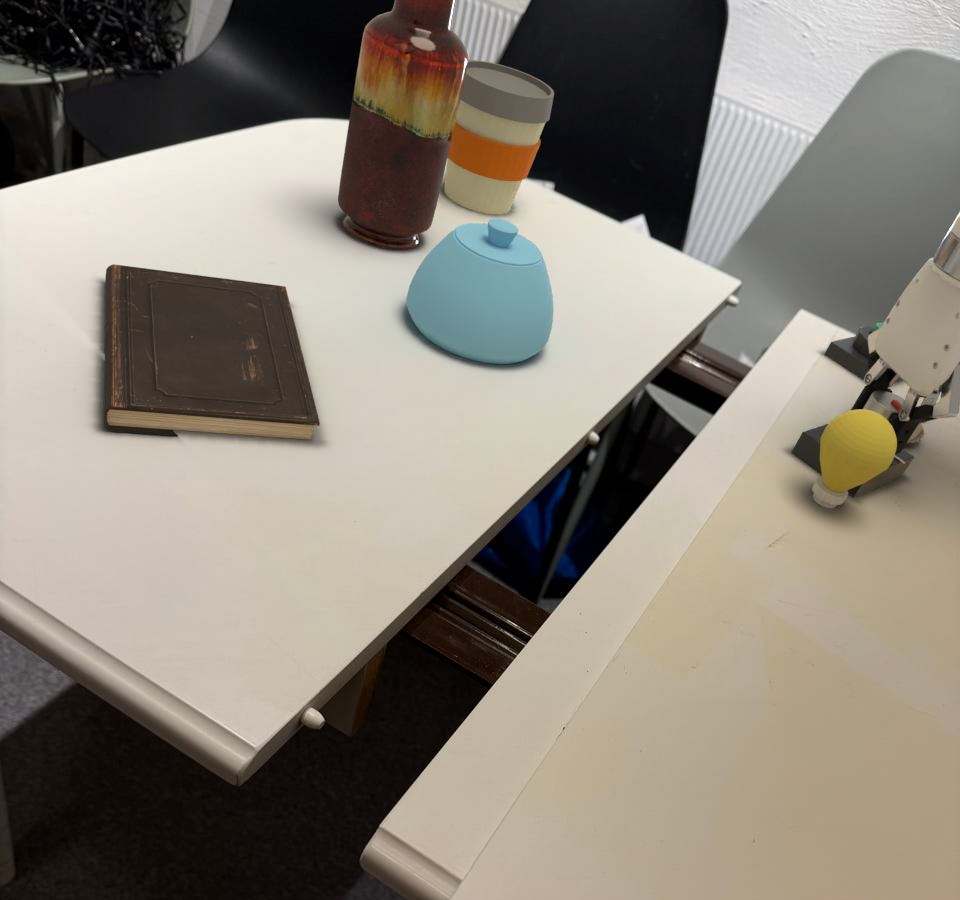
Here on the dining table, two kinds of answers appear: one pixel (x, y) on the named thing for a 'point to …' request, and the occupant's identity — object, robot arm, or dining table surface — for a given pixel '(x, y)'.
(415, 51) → the vase
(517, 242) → the sugar bowl
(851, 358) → the block
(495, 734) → the dining table surface
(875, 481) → the washer panel
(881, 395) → the program dial
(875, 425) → the light bulb
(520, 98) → the reusable coffee cup
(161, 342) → the hardcover book
